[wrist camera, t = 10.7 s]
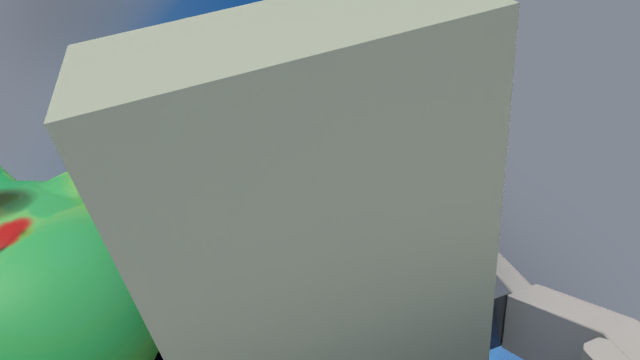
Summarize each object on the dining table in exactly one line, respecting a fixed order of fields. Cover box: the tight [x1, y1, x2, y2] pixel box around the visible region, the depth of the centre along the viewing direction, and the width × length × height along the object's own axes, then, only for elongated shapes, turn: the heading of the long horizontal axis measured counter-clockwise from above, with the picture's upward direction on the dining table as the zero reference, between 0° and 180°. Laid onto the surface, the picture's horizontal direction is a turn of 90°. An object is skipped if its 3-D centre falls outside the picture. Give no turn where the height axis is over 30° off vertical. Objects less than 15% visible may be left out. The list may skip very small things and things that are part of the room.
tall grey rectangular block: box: [44, 0, 520, 360], centre depth 12 cm, size 6×4×16 cm
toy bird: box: [0, 166, 159, 360], centre depth 29 cm, size 18×17×15 cm
